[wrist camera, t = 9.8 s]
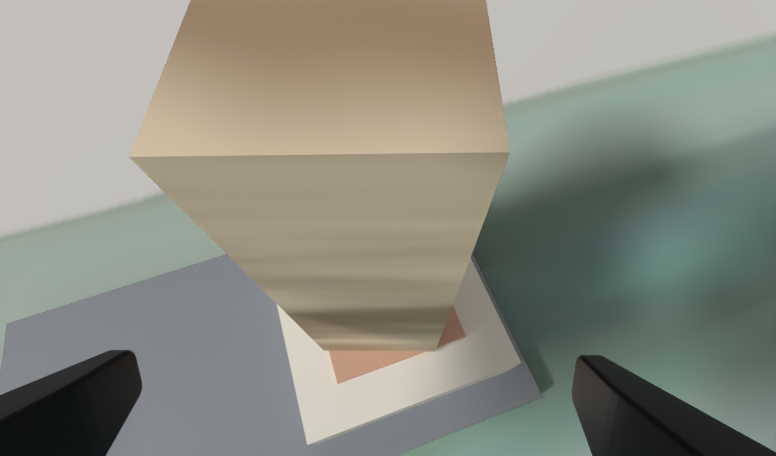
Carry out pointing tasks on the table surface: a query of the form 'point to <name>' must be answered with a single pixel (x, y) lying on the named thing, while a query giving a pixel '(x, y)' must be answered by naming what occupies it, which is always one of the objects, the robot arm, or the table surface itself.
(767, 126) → the table surface
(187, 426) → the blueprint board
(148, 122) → the maple pillar
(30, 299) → the table surface
